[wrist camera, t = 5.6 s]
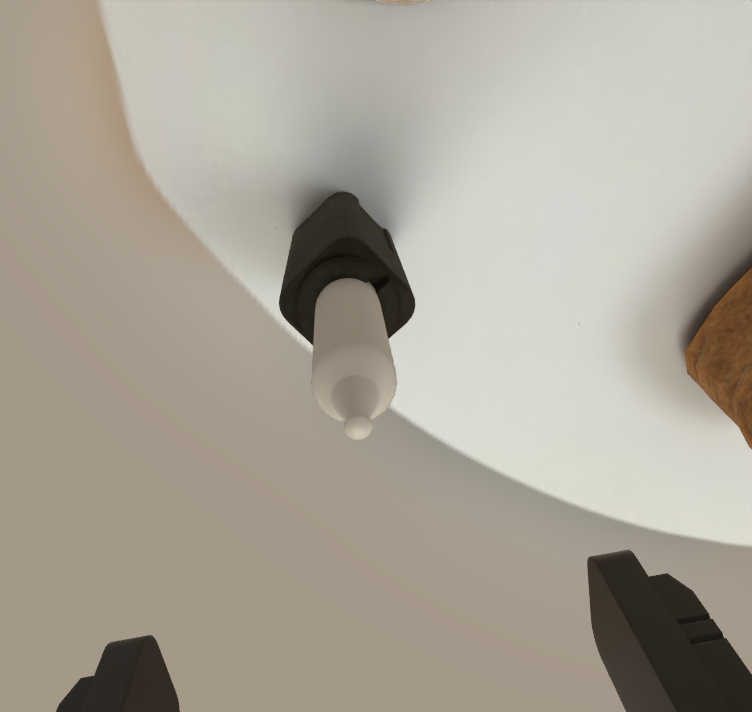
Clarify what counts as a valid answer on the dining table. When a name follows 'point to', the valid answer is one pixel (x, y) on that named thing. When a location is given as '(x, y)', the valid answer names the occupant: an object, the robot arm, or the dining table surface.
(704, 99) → the dining table surface
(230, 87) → the dining table surface
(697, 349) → the bread
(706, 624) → the robot arm
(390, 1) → the bowl
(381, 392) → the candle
